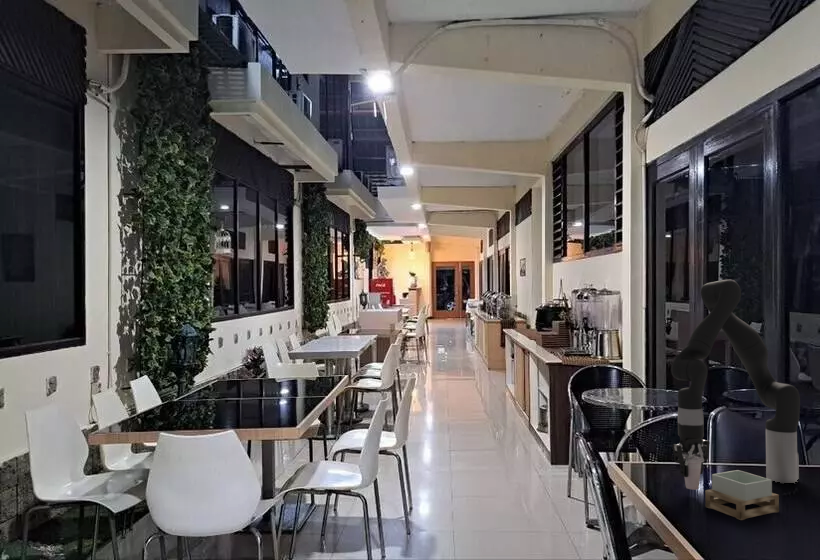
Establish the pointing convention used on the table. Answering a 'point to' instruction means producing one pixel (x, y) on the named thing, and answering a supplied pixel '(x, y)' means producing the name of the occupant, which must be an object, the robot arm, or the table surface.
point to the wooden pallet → (741, 504)
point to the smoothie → (693, 472)
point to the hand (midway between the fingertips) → (691, 474)
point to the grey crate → (742, 485)
